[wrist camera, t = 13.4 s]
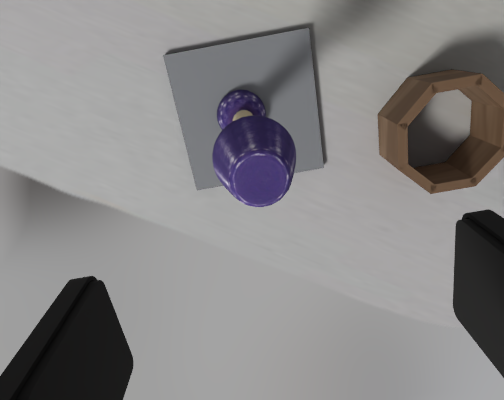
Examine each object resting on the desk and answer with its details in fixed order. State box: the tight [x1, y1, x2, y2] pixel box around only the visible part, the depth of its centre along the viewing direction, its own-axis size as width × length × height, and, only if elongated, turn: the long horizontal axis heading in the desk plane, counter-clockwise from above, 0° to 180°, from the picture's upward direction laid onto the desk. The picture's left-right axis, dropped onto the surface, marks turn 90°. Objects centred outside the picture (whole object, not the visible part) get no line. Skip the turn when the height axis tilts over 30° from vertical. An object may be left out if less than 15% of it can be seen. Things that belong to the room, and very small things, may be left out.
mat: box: [163, 28, 324, 190], centre depth 33 cm, size 12×12×1 cm
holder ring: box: [378, 69, 504, 194], centre depth 33 cm, size 9×9×4 cm
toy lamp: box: [212, 90, 296, 207], centre depth 25 cm, size 5×5×17 cm
